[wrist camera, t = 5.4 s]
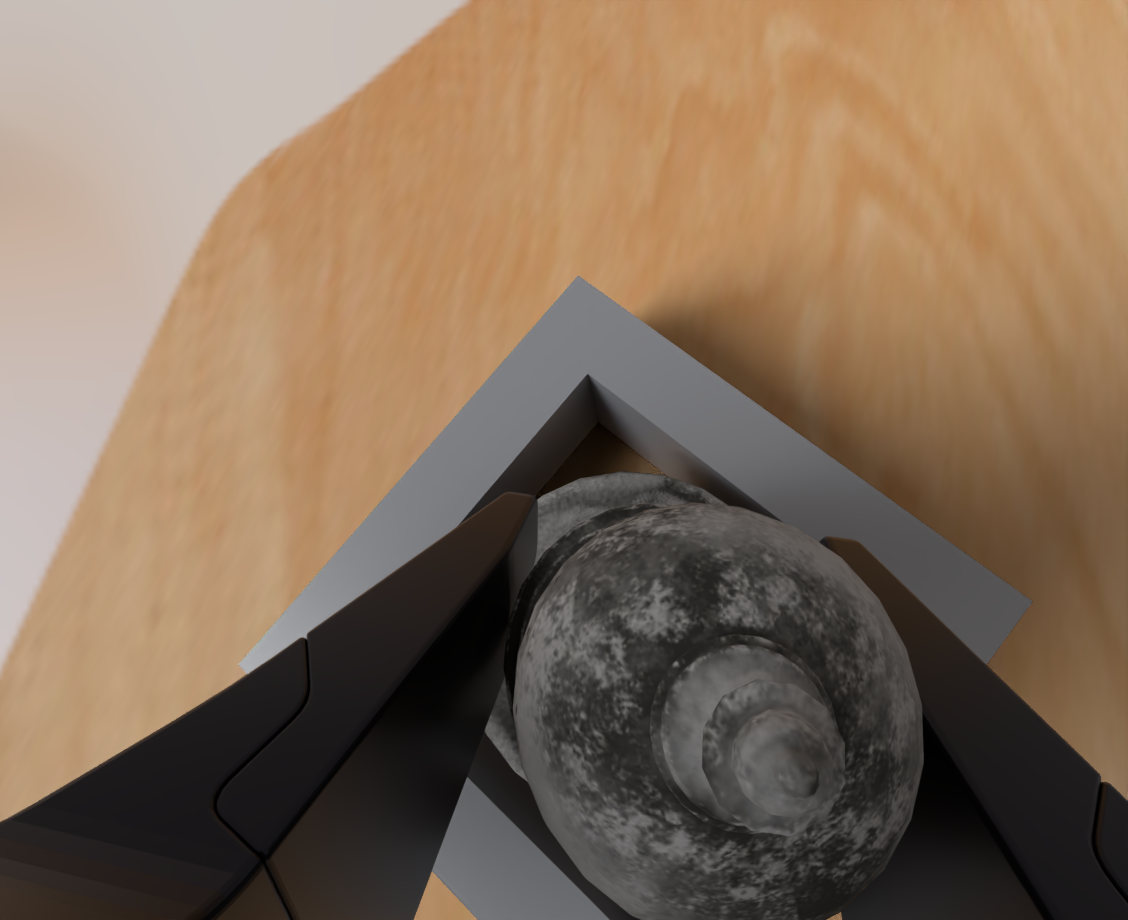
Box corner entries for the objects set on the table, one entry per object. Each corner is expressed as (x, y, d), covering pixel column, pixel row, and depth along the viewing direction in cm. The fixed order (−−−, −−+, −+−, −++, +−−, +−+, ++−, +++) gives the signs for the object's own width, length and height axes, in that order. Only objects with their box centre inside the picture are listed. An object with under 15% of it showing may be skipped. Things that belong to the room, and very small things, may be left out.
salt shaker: (695, 468, 15) (1117, 29, 3) (786, 717, 14) (1947, 1409, 2) (460, 541, 15) (16, 347, 3) (531, 801, 14) (247, 2107, 2)
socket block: (652, 977, 13) (658, 1111, 10) (327, 650, 15) (238, 664, 12) (936, 600, 14) (1032, 601, 11) (590, 343, 16) (578, 275, 13)
